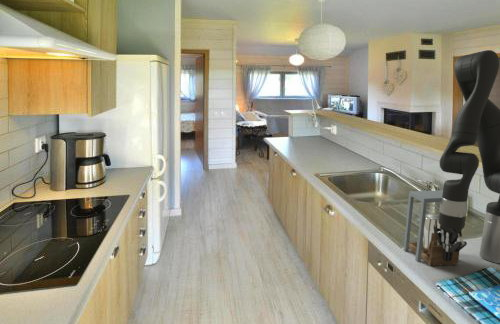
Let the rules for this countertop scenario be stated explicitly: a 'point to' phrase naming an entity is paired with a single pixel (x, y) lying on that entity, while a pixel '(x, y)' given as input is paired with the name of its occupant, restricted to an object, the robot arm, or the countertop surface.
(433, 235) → the beer glass
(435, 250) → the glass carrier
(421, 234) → the grey four-legged stool
